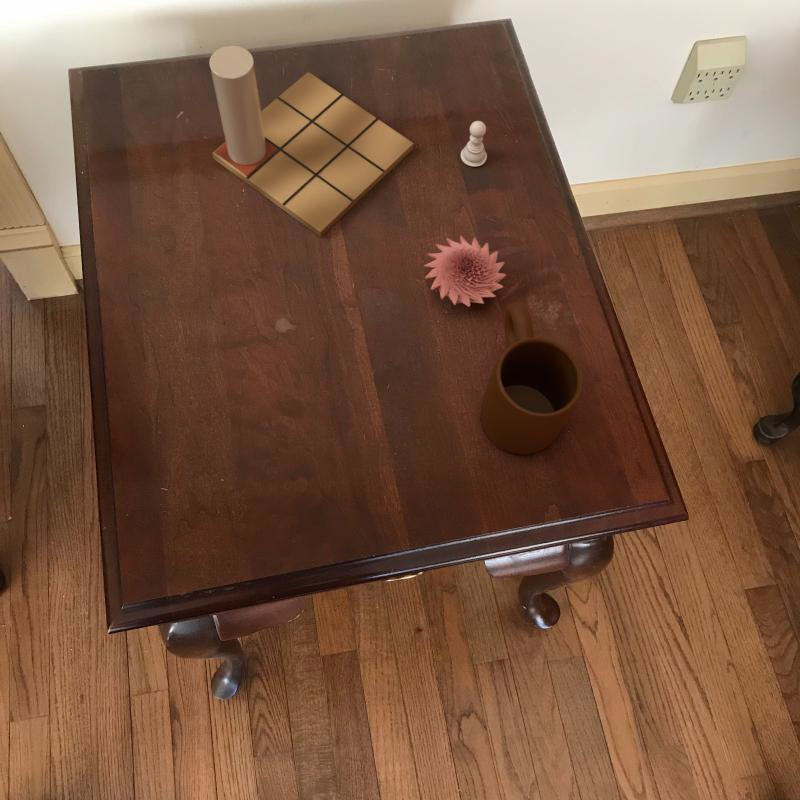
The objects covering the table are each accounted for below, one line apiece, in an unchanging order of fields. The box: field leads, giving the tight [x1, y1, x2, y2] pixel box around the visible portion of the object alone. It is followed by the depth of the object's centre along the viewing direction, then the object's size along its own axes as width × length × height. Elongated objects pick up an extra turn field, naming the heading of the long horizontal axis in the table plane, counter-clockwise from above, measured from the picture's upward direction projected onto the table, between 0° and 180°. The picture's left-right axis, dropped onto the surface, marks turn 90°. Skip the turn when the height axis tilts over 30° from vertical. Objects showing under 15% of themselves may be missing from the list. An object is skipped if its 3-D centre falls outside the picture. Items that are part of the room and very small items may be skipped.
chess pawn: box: [460, 120, 488, 168], centre depth 87 cm, size 3×3×5 cm
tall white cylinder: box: [208, 45, 266, 165], centre depth 82 cm, size 4×4×12 cm
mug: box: [480, 301, 584, 455], centre depth 74 cm, size 12×8×9 cm, turn 10°
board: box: [211, 71, 414, 238], centre depth 88 cm, size 15×15×1 cm
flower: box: [423, 235, 507, 308], centre depth 80 cm, size 8×8×6 cm
